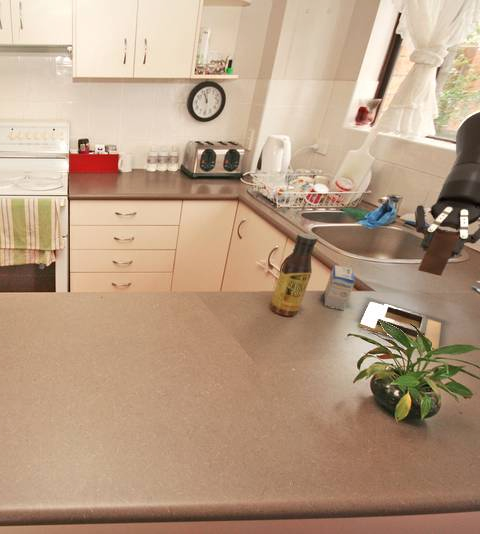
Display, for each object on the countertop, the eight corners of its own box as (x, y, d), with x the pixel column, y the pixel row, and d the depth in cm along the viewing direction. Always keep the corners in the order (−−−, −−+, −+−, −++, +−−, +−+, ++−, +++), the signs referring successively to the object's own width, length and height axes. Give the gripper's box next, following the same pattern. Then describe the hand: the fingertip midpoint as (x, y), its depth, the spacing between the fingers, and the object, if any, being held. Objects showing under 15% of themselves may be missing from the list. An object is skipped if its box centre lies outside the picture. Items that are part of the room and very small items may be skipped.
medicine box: (323, 293, 104) (333, 264, 100) (342, 298, 102) (353, 268, 98) (323, 306, 98) (334, 275, 94) (344, 311, 96) (355, 280, 92)
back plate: (439, 326, 91) (444, 317, 90) (436, 353, 81) (441, 343, 80) (368, 304, 99) (372, 296, 98) (358, 327, 90) (362, 317, 89)
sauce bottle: (279, 318, 92) (302, 241, 84) (264, 305, 98) (284, 231, 89) (304, 316, 93) (329, 240, 85) (287, 303, 99) (309, 230, 90)
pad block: (442, 269, 89) (459, 232, 85) (440, 276, 85) (458, 238, 82) (420, 263, 91) (435, 227, 87) (418, 270, 88) (434, 233, 84)
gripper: (428, 173, 89) (401, 235, 86) (515, 184, 81) (489, 253, 78) (421, 192, 95) (396, 250, 92) (501, 204, 86) (477, 269, 83)
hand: (439, 251), depth 85 cm, fingers closed on pad block, 4 cm apart
